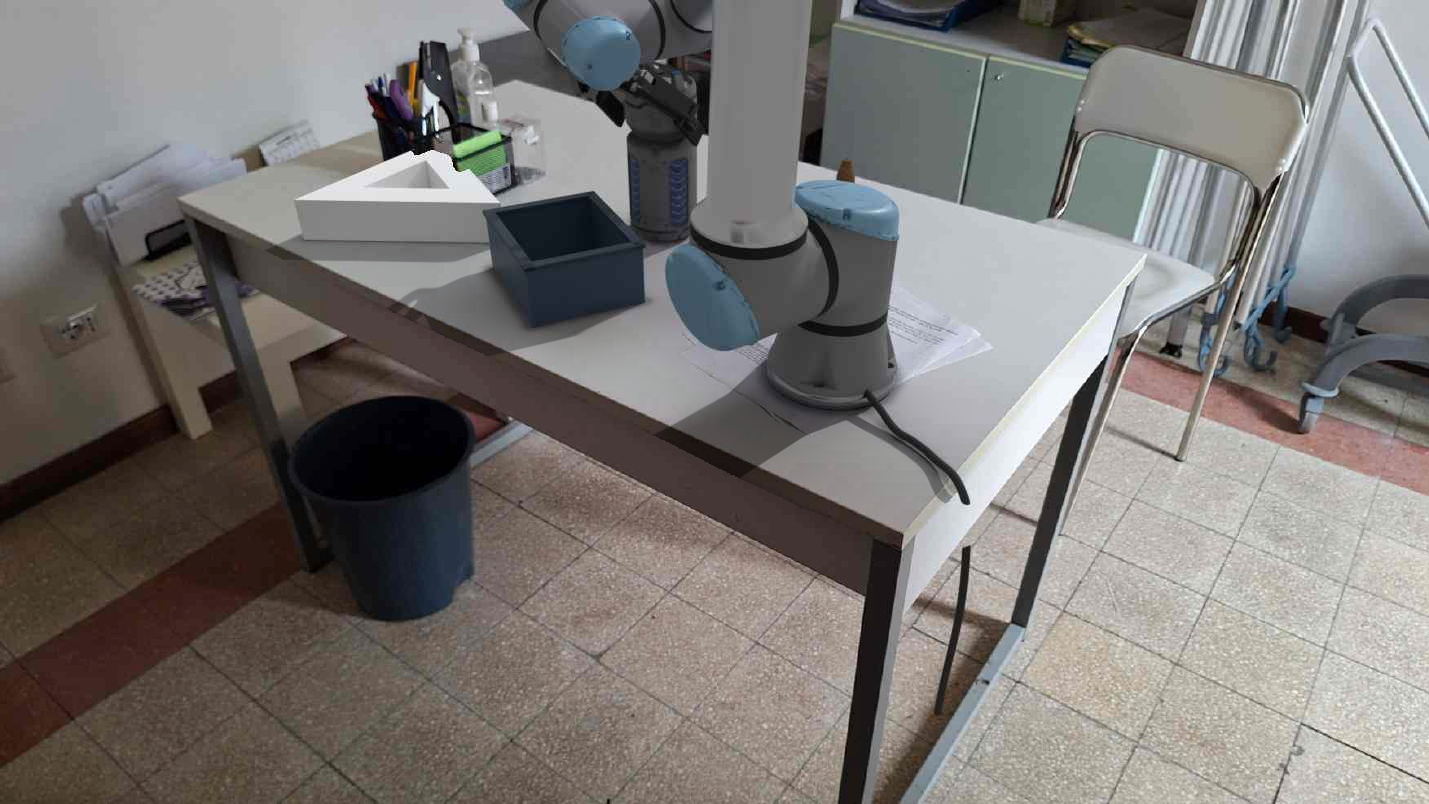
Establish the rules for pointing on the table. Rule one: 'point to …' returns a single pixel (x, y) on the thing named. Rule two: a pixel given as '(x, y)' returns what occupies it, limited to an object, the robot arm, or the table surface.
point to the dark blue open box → (566, 257)
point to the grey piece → (660, 167)
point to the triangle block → (400, 204)
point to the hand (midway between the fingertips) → (660, 128)
